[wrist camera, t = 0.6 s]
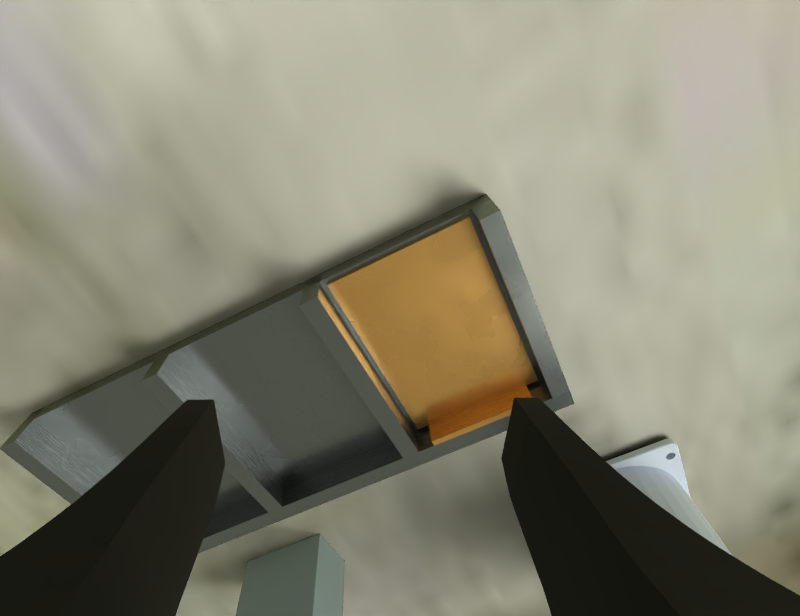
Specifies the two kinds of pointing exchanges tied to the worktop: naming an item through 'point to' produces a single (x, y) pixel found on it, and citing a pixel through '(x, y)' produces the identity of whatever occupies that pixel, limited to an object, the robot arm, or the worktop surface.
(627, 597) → the robot arm
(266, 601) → the pale blue block
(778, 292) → the worktop surface
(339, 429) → the tray
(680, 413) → the worktop surface
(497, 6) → the worktop surface
